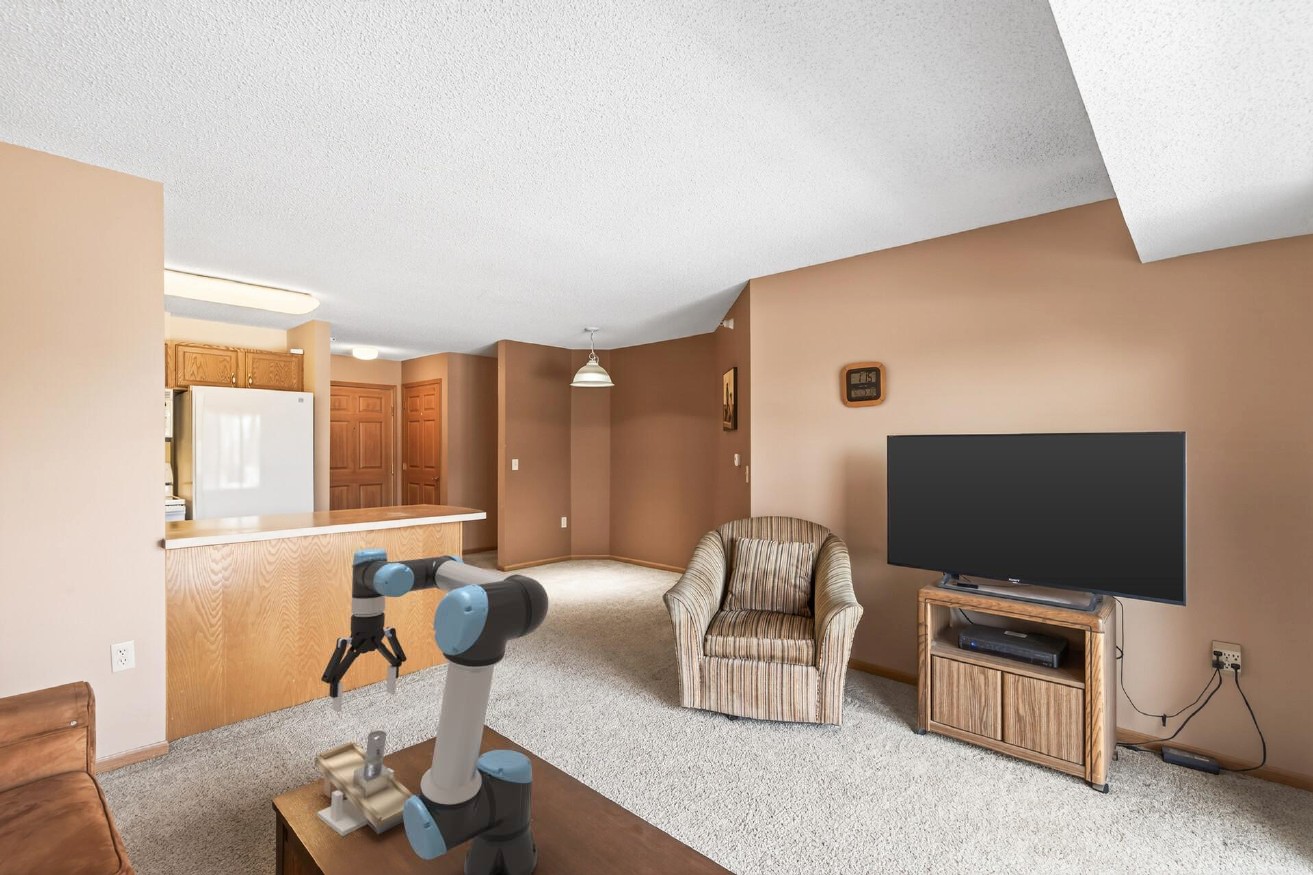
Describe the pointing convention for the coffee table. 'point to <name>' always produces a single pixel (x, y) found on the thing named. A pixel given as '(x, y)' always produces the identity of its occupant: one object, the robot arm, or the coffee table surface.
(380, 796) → the beam
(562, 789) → the coffee table surface
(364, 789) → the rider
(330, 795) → the stand
